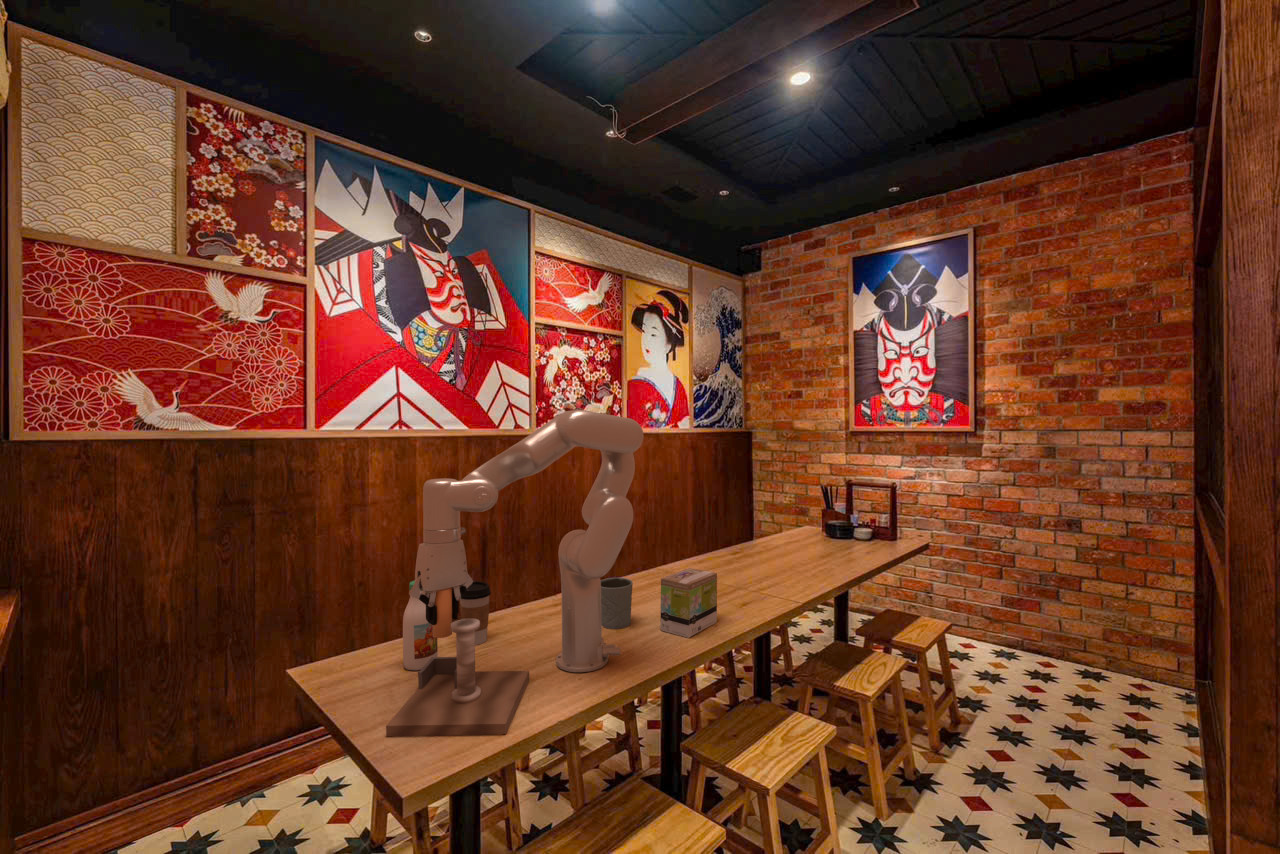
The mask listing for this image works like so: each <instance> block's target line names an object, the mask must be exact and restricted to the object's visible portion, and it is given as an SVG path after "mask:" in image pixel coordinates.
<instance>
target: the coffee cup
mask: <svg viewBox="0 0 1280 854" xmlns="http://www.w3.org/2000/svg"><path fill="white" fill-rule="evenodd" d="M491 594H492V591H491V589H490V584H488V583H487V582H483V581H477V580H475V581H474V580H473V583H472V584H471V585H470V586H469V587H468V588H466V590H465V591H464V593H463V594H462V595H461V599H460V600H459V610H460V618H461V619H467V618H474V619H478V620H479V621H480V627H479V629H477V630H475V646H477V645H478V646H479V645H481V644H484V643H486V642H487V640H488V628H489V627H488V626H489V617H490V616H489V615H490V614H489V613H490V602H491V600H490V595H491Z"/></svg>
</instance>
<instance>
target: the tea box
mask: <svg viewBox="0 0 1280 854" xmlns="http://www.w3.org/2000/svg"><path fill="white" fill-rule="evenodd" d="M659 621H660V626H659V627H660V628H659V629H660V631H662V632H666V633H668V634H671V635H677V636H679V637H684V638H686V639H687V638H688V639H690V638H692V637H693V636H694V635H696V634H698V633H700V632H702V631H703V630H705V629H707V628H709V627H711V626H712V625H715V624H717V621H718V573H717V572H715V571H709V570H704V569H703V570H702V569H697V568H691V567H688V568H686V569H683V570H680V571H677V572H675V573H672V574H670V575H666V576H664V577H661V578H660V620H659Z"/></svg>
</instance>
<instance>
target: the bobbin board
mask: <svg viewBox="0 0 1280 854" xmlns="http://www.w3.org/2000/svg"><path fill="white" fill-rule="evenodd" d="M479 627H480V621H479V620H478V619H474V618H467V619H458V620H457V619H456V620H454V621H452V624H451V631H452V633H455V636H456V637H455V638H456V639H455V641H456V643H455V644H456V657H457V689H455V675H454V674H434V676H433V677H432V678H431V679H430V680H429V682H428V683H427V684H426V685H425V686H424V688H423V689H419V687H418V686H417V688H416V690H415V691H414V692H413V693H412V695H410V697H408V699H407V700H406V702H405V703H403V705H402V706H401V707H400V709H399V710H398V711H397V712H396V714H394V716H393V717H392V718H391V719H390V721H389V722H388V723H387V724H386V725H385V732H386V735H385V736H386V737H387V736H389V737H390V736H392V737H431V736H432V737H444V736H447V737H449V736H496V735H495V734H506V735H507V733H508V730H509V728H508V727H510V726H509V725H511V724H512V721H511V720H513V719H514V716H515V714H516V712H517V709H518V706H519V704H520V703H521V700H522V698H523V695H524V693H525V690H526V688H527V686H528V683H529V681H530V670H501V671H500V670H497V671H496V670H495V671H489V670H487V671H476V645H475V630H477V629H479ZM512 718H513V719H512ZM506 732H507V733H506ZM493 734H494V735H493ZM389 737H387V738H389Z"/></svg>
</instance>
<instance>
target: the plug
mask: <svg viewBox="0 0 1280 854" xmlns="http://www.w3.org/2000/svg"><path fill="white" fill-rule="evenodd" d="M434 605H435V606H437V624H436V625H433V637H435V638H437V639H442V638H443V639H444V638H447V637H450V636H452V634H453V632H452V631H451V624H452V623H453V619H452V588H449V589H445V590H440V591H436V596H435V602H434Z"/></svg>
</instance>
